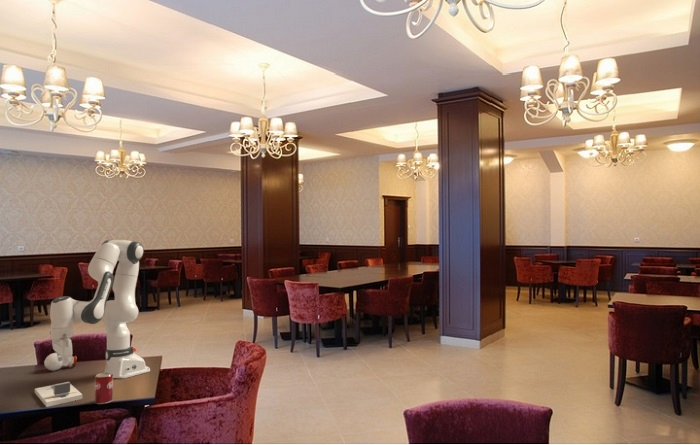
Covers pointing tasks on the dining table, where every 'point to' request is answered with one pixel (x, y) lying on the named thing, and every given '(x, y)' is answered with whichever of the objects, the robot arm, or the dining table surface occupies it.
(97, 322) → the robot arm
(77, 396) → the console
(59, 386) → the fader
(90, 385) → the dining table surface
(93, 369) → the dining table surface
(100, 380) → the soda can
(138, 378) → the dining table surface
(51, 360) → the potion bottle
